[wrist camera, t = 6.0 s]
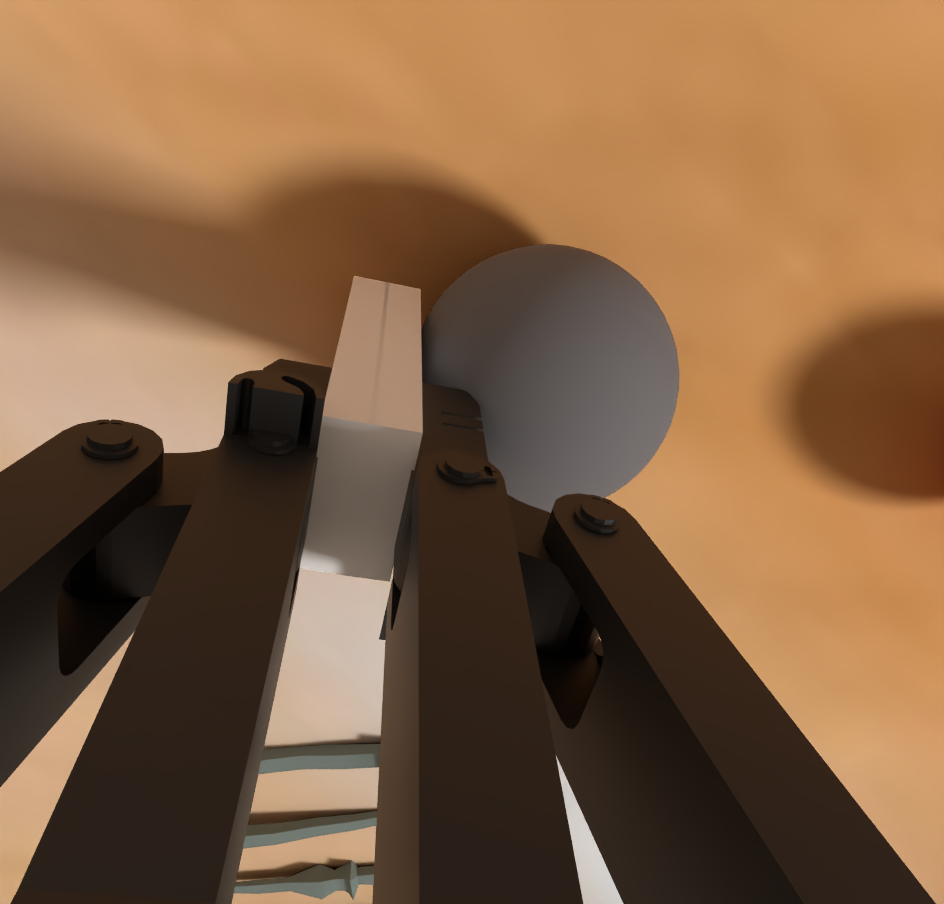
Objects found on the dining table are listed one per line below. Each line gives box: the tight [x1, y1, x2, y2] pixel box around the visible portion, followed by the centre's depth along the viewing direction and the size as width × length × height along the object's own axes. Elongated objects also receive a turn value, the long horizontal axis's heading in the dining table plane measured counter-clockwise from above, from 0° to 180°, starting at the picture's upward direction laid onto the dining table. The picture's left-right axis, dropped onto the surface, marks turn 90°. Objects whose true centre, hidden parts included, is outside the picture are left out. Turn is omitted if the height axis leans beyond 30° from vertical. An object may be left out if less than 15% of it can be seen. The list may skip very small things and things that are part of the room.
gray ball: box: [421, 244, 679, 512], centre depth 16 cm, size 6×6×6 cm
